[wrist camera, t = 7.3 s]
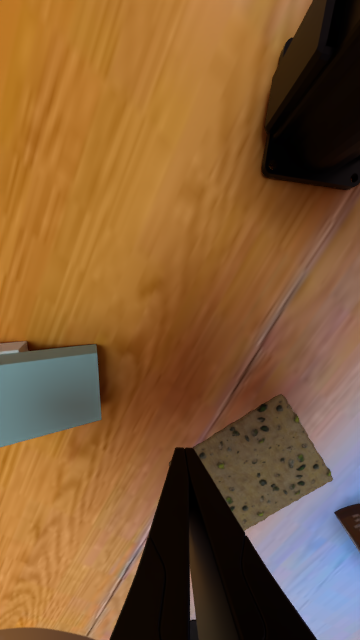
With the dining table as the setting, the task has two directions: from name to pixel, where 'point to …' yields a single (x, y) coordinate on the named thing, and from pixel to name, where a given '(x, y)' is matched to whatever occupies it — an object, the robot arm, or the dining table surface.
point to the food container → (351, 522)
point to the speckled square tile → (263, 462)
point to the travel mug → (193, 630)
